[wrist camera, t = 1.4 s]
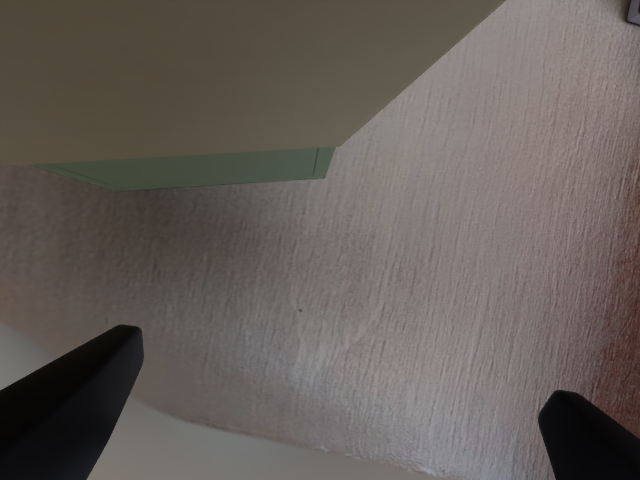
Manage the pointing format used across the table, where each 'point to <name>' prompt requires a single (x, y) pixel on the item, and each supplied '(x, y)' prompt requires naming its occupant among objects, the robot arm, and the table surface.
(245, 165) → the chest
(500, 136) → the table surface
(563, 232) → the table surface
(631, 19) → the supplement box
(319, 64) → the lid
